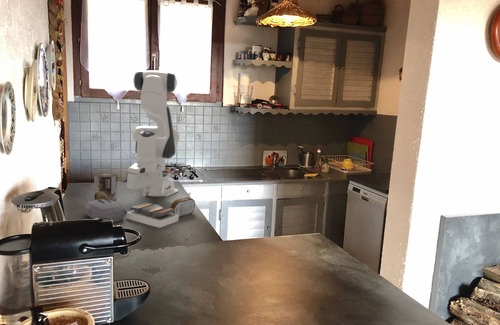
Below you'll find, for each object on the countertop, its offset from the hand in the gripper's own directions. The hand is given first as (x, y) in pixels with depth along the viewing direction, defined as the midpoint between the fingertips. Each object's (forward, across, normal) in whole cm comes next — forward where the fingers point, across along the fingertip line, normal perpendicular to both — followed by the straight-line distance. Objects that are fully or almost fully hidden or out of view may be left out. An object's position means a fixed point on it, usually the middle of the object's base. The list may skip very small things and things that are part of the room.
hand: (145, 195), depth 191 cm
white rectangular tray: (+10, +1, +1) cm, 11 cm away
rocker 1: (+6, 0, -1) cm, 6 cm away
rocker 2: (+6, 0, +5) cm, 8 cm away
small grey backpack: (+11, +12, -13) cm, 21 cm away
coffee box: (+11, 0, -27) cm, 29 cm away
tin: (+11, -14, +11) cm, 21 cm away
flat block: (+6, 0, +12) cm, 13 cm away
